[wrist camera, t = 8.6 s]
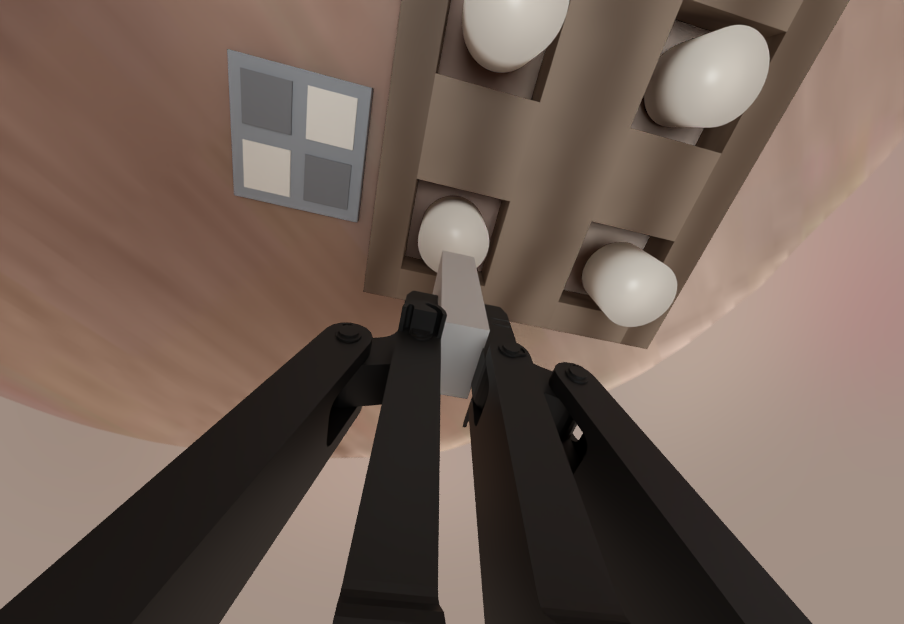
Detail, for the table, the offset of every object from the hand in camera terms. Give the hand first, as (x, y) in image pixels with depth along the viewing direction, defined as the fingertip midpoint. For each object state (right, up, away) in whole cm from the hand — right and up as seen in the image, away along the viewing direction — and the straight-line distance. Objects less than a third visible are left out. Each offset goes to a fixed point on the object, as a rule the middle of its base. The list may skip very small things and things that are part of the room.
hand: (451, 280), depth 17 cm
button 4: (+15, +13, +7) cm, 21 cm away
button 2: (+3, +15, +3) cm, 15 cm away
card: (-11, +10, +8) cm, 17 cm away
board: (+8, +9, +9) cm, 15 cm away
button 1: (0, +5, +11) cm, 12 cm away
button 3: (+12, +1, +10) cm, 16 cm away
